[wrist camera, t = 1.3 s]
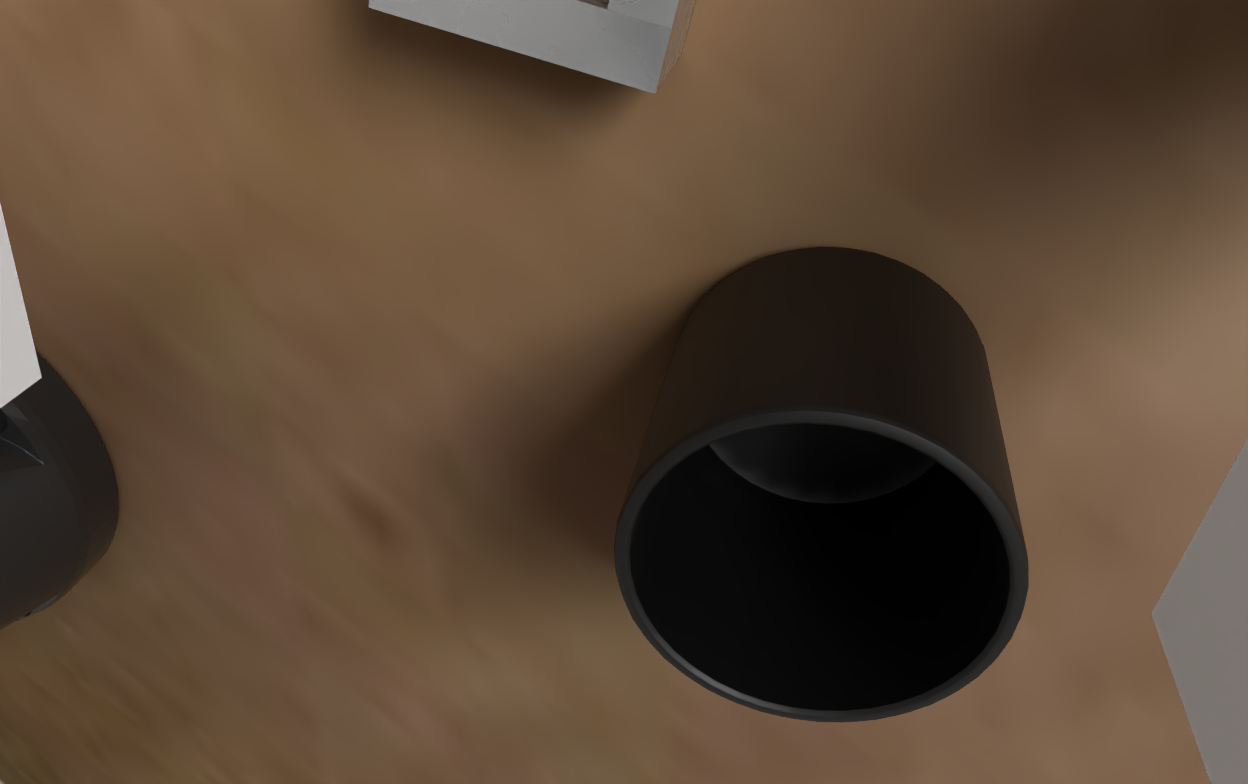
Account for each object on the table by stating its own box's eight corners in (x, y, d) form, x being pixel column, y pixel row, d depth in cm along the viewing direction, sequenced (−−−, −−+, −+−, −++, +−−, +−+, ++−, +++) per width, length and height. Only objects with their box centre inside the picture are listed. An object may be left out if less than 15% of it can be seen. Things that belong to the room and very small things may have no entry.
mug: (584, 464, 34) (505, 660, 27) (781, 178, 28) (749, 330, 20) (817, 598, 35) (803, 823, 28) (1059, 352, 29) (1129, 558, 21)
